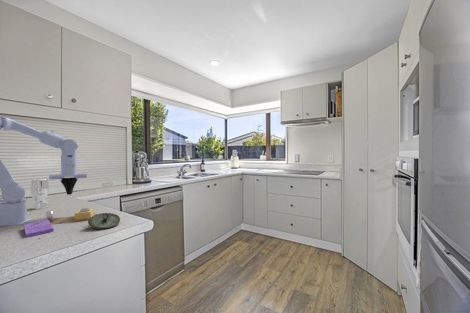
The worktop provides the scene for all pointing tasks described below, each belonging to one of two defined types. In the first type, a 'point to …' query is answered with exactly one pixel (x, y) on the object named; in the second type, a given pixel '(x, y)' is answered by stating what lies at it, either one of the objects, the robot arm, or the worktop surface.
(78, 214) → the collar
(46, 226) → the sponges
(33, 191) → the beer glass
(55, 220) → the stand board
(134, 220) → the worktop surface
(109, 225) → the lid
